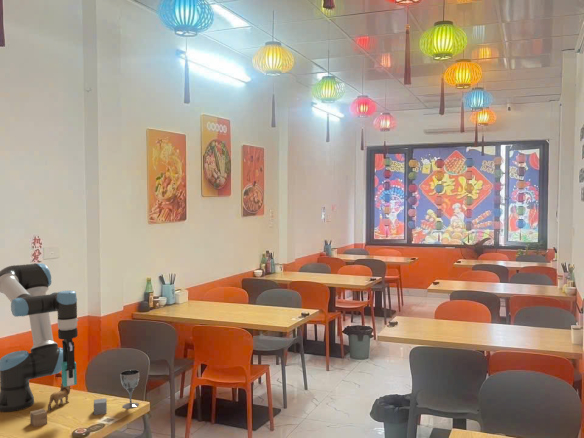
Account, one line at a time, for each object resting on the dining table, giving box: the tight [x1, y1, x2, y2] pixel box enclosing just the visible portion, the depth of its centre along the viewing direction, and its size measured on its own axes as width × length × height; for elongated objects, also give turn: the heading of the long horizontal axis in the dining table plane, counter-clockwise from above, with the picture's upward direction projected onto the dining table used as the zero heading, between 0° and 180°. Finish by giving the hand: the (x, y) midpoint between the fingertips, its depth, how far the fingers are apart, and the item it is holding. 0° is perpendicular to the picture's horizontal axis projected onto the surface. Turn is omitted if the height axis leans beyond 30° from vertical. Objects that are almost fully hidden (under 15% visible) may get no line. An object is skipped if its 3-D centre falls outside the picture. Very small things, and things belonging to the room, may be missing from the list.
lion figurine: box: [47, 383, 71, 411], centre depth 241 cm, size 15×5×9 cm, turn 174°
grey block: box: [93, 397, 108, 416], centre depth 233 cm, size 5×5×5 cm
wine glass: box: [120, 369, 140, 410], centre depth 240 cm, size 8×8×15 cm
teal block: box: [61, 361, 78, 387], centre depth 227 cm, size 5×5×9 cm
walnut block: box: [29, 408, 48, 428], centre depth 222 cm, size 5×5×5 cm
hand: (69, 383), depth 227 cm, fingers closed on teal block, 5 cm apart
